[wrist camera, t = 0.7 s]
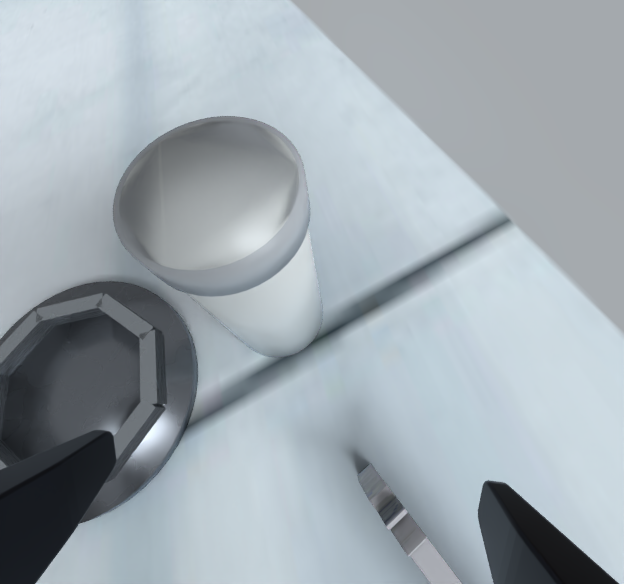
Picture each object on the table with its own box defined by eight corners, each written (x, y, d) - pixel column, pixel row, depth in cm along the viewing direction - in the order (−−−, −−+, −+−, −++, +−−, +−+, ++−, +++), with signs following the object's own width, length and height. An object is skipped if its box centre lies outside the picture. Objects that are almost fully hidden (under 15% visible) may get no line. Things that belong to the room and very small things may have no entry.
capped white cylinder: (291, 379, 21) (223, 315, 9) (215, 329, 23) (73, 219, 11) (343, 298, 23) (342, 155, 11) (268, 257, 25) (197, 95, 13)
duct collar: (77, 589, 18) (46, 608, 16) (-70, 427, 22) (-108, 427, 20) (243, 353, 22) (233, 346, 20) (93, 253, 26) (74, 240, 24)
